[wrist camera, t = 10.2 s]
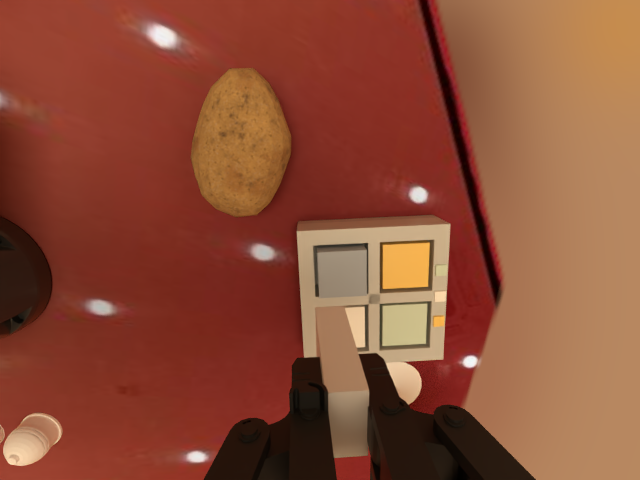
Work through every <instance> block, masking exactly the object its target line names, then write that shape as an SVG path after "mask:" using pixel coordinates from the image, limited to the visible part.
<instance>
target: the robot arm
mask: <svg viewBox="0 0 640 480" xmlns="http://www.w3.org/2000/svg"><path fill="white" fill-rule="evenodd" d="M50 293H51V275H50V270H49V267H48V264H47V261H46V259H45V257H44V255H43V253H42V252H41V250H40V249H39V247H38V246H37V244H36V243H35V242H34V241H33V240H32V239H31V238H30V236H28V235H27V234H26V233H25V232H24V231H23V230H22V229H20V228H19V227H18V226H16V225H15V224H13V223H11V222H10V221H8V220H6V219H4V218H2V217H0V339H1V338H4V337H6V336H9V335H11V334H13V333H15V332H17V331H19V330H20V329H22V328H23V327H25V326H27V325H28V324H30V323H31V322H33V321H34V320H35V319H36V318H37V317H38V316H39V315H40V314H41V313H42V312H43V310H44V309H45V307H46V305H47V303H48V300H49V297H50ZM315 316H316V355H317V357H306V358H297V359H296V360H295V362H294V363H293V365H292V388H291V389H290V393H289V399H290V412H289V413H288V415H287V416H286V417H285V418H283V419H282V420H280V421H278V422H276V423H273V424H270V425H268V424H267V423H266V422H265V421H264V420H262V419H258V418H248V419H245V420H241V421H240V422H238V423H237V424H235V425H234V426H233V428H232V429H231V430H230V432H229V434H228V435H227V437H226V439H225V441H224V443H223V445H222V447H221V448H220V450H219V452H218V454H217V456H216V458H215V460H214V461H213V463H212V465H211V467H210V469H209V471H208V473H207V474H206V476H205V478H204V480H337V478H336V470H335V462H334V458H339V457H354V456H368V446H369V450H370V455H371V468H370V480H536V479H534V477H533V476H531V474H530V473H529V472H528V471H526V470H525V468H524V467H523V466H522V465H521V464H520V463H519V462H518V461H517V460H516V459H514V457H513V456H512V455H511V454H510V453H509V452H508V451H507V450H506V449H505V448H504V447H503V446H502V445H501V444H500V443H499V442H498V441H497V440H496V439H495V438H494V437H493V436H492V435H491V434H490V433H489V432H488V431H487V430H486V429H485V428H484V427H483V426H482V425H481V424H480V423H479V422H478V421H477V420H476V419H475V418H474V417H473V416H472V415H471V414H470V413H469V412H467V411H466V410H465V409H463V408H460V407H458V406H454V405H442V406H440V407H438V408H436V410H435V411H434V415H432V414H426V413H421V412H417V411H415V410H412V409H410V407H409V405H408V404H407V403H406V401H404V400H403V399H402V398H400V397H399V395H398V392H397V390H396V387H395V385H394V382H393V380H392V377H391V375H390V373H389V370H388V369H387V365H386V363H385V360H384V359H383V358H382V357H381V356H380V355H378V354H377V353H366V354H358V351H357V347H356V344H355V341H354V337H353V334H352V331H351V327H350V324H349V320H348V317H347V314H346V310H345V307H344V306H331V307H315Z"/></svg>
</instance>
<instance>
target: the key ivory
mask: <svg viewBox="0 0 640 480" xmlns="http://www.w3.org/2000/svg"><path fill="white" fill-rule="evenodd" d="M329 307H331V306H329ZM344 307H345V310H346V314H347V317H348V320H349V324H350V327H351V331H352V334H353V337H354V341H355V344H356V347H357V348H358V347H365V306H364V305H347V306H344Z"/></svg>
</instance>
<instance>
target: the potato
mask: <svg viewBox="0 0 640 480" xmlns="http://www.w3.org/2000/svg"><path fill="white" fill-rule="evenodd" d="M290 155H291V134H290V131H289V128H288V125H287V123H286V120H285V117H284V114H283V111H282V108H281V106H280V103H279V100H278V98H277V97H276V95H275V93H274V91H273V89H272V87H271V85H270V84H269V83H268V82H267V81H266V80H265V79H264V78H263V77H262V76H261V75H260V74H259V73H258V72H257V71H256V70H255V69H254V68H230V69H229V70H228V71H227V72H226V73H225V74H224V75H223V76H222V77H221V78H220V79H219V80H218V81H217V82H216V83H215V84H214V85H213V86H212V87H211V89H210V91H209V93H208V95H207V97H206V99H205V101H204V103H203V106H202V109H201V112H200V115H199V119H198V122H197V125H196V129H195V133H194V137H193V141H192V151H191V161H192V165H193V170H194V174H195V177H196V179H197V182H198V185H199V188H200V191H201V194H202V196H203V197H204V198H205V199H206V200H207V201H208V202H209V203H210V204H211V205H212V206H213V207H214V208H215V209H217V210H219V211H222V212H224V213H227V214H229V215H231V216H234V217H243V216H251V215H257V214H258V213H259V212H261V211H262V210H263V209H264V208H265V207H266V206H267V205H268V204H269V203H270V202H271V200H272V198H273V197H274V195H275V193H276V191H277V189H278V187H279V185H280V184H281V181H282V178H283V175H284V172H285V170H286V167H287V164H288V161H289V158H290Z"/></svg>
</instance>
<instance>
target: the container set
mask: <svg viewBox="0 0 640 480" xmlns="http://www.w3.org/2000/svg"><path fill="white" fill-rule="evenodd" d="M61 436H62V427H61V424H60V423H59V421H58V420H57V419H55V418H54V417H53V416H51V415H48V414H46V413H33V414H30V415H28V416H27V417H25V418H24V419H23V420H22V422H21V424H20V425H19V426H18V427H17V428H16V429H15V430H13V431H12V432H11V434H10V435H9V436H8V437H7V439H6V441H5V444H4V447H3V453H4V456H5V458H6V460H7V461H8V463H9V464H11V465H18V466H24V465H29V464H32V463H34V462H36V461H38V460H39V459H41V458H42V457H43V456H44V455H45V454H46V453H47V452H48V450H49V449H50V448H51V447H52V446H53V445H54V444H55V443H57V442H58V441H59V439H60V438H61ZM3 439H4V430H3V428H2V426H1V425H0V443H1V442H2V441H3Z"/></svg>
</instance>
